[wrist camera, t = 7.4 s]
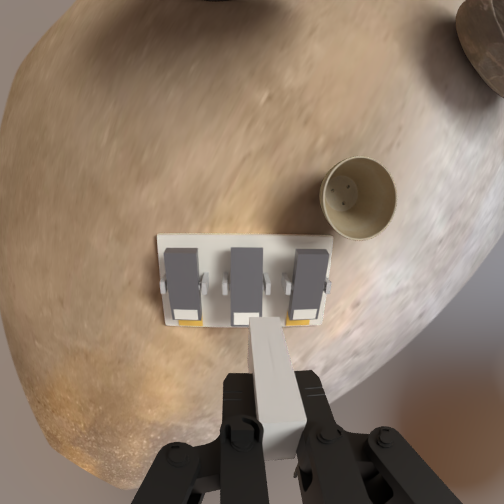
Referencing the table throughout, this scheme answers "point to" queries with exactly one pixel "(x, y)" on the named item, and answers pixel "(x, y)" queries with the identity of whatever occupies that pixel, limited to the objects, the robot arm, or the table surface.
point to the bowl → (483, 39)
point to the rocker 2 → (246, 284)
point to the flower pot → (358, 198)
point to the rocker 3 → (307, 283)
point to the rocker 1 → (183, 283)
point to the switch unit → (219, 273)
